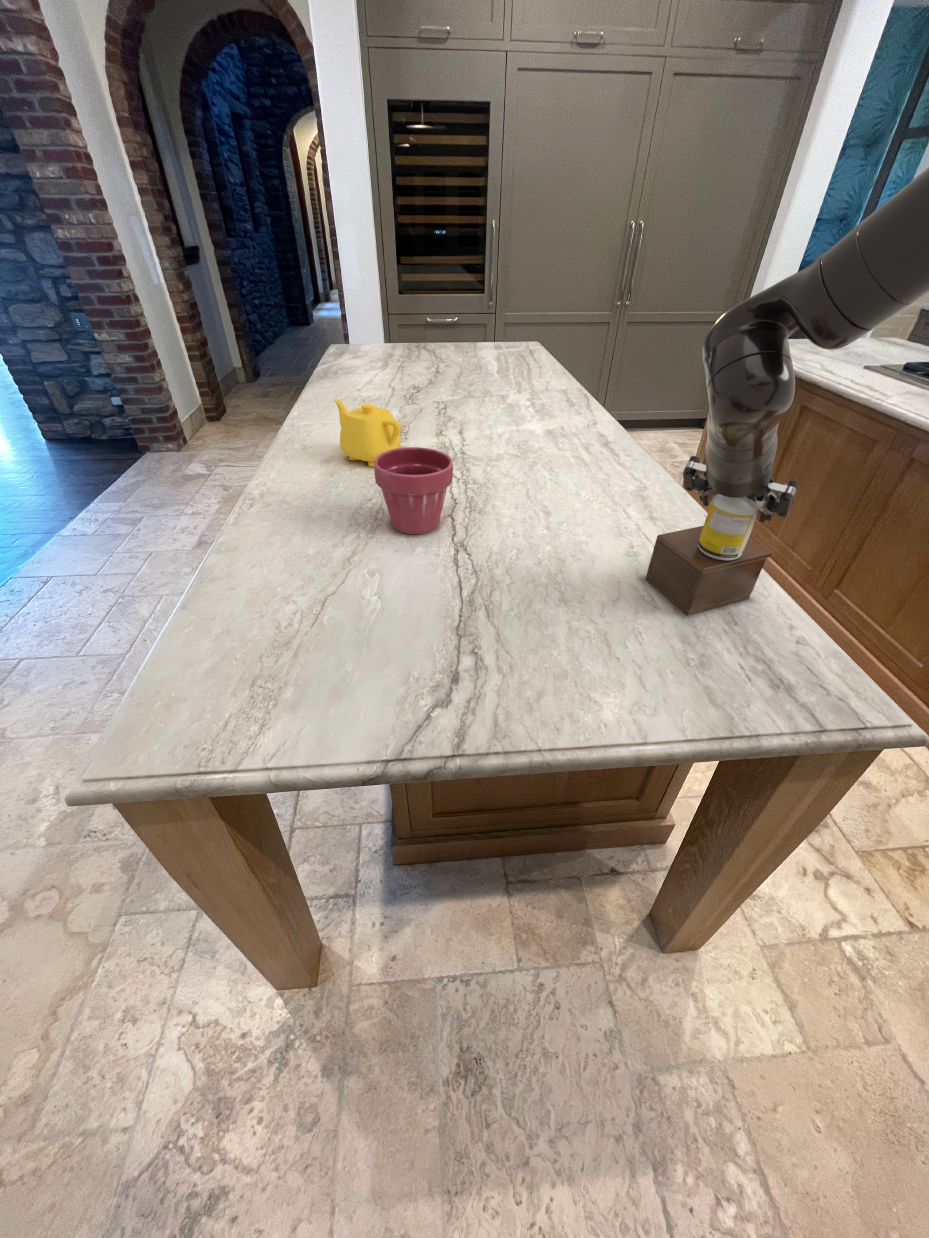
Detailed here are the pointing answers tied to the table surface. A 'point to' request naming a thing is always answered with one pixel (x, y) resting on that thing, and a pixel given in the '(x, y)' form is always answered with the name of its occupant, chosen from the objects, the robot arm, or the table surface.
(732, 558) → the pill bottle
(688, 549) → the lid
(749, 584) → the box
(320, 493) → the table surface
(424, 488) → the flower pot
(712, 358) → the robot arm
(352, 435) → the teapot
